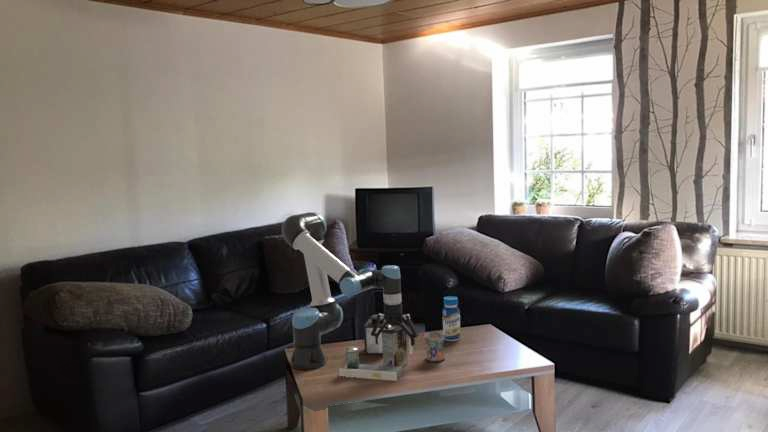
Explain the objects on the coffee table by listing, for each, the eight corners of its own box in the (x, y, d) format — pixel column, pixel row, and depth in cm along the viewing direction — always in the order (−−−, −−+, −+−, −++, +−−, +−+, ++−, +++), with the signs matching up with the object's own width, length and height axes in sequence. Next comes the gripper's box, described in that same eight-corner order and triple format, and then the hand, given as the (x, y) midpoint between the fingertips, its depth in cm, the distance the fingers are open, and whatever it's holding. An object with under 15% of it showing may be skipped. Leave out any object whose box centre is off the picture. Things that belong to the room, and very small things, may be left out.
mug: (448, 362, 260) (447, 337, 258) (426, 363, 259) (425, 339, 257) (442, 353, 271) (441, 329, 270) (421, 354, 270) (420, 331, 269)
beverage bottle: (459, 335, 295) (458, 295, 293) (462, 341, 287) (460, 299, 285) (442, 336, 295) (440, 296, 293) (444, 342, 287) (442, 300, 285)
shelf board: (339, 376, 248) (339, 368, 248) (348, 368, 258) (347, 360, 257) (396, 380, 241) (395, 373, 240) (402, 371, 250) (402, 364, 250)
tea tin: (344, 369, 250) (343, 350, 249) (349, 365, 255) (348, 346, 254) (356, 370, 249) (355, 351, 248) (361, 366, 254) (360, 347, 253)
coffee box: (396, 361, 263) (394, 325, 261) (408, 364, 259) (406, 327, 257) (382, 367, 256) (381, 330, 254) (394, 370, 252) (393, 332, 250)
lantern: (393, 347, 283) (390, 287, 280) (389, 355, 272) (386, 293, 269) (369, 347, 284) (366, 288, 282) (364, 355, 273) (361, 293, 271)
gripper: (361, 304, 255) (364, 353, 257) (419, 305, 247) (422, 356, 249) (367, 300, 262) (370, 348, 264) (424, 301, 254) (426, 350, 256)
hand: (395, 352), depth 257 cm, fingers open, 13 cm apart
